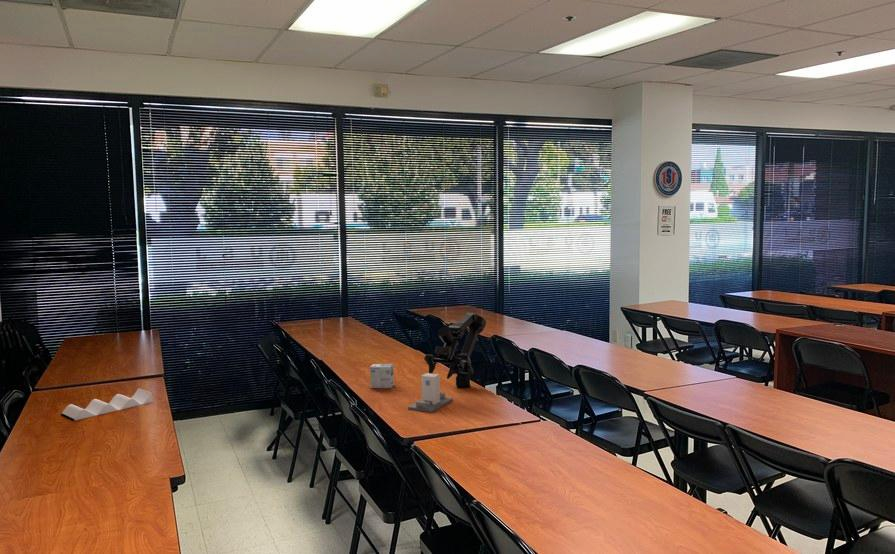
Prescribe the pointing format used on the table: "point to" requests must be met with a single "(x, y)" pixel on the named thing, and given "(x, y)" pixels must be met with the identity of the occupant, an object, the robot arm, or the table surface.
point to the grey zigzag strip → (107, 405)
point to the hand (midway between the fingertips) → (438, 377)
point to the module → (430, 388)
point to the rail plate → (430, 404)
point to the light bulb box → (381, 376)
